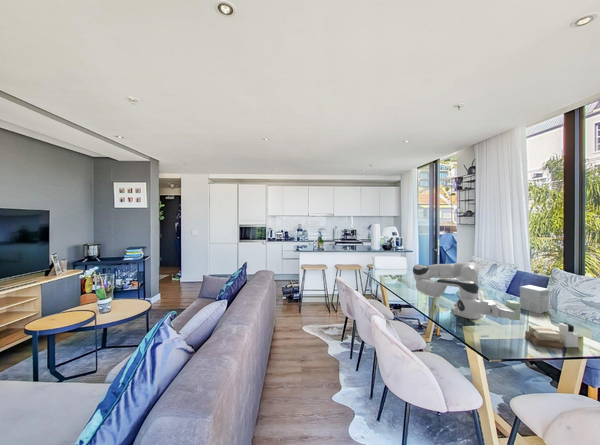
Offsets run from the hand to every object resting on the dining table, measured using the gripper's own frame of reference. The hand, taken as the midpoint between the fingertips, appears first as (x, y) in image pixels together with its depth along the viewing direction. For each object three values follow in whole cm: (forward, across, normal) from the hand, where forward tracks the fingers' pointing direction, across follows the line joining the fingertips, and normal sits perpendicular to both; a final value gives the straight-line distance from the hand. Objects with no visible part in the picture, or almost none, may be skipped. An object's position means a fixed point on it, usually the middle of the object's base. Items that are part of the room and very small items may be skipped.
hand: (514, 309), depth 158 cm
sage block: (-1, 0, -6) cm, 6 cm away
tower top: (+15, 0, -15) cm, 21 cm away
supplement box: (+44, -60, -19) cm, 77 cm away
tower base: (+15, 0, -19) cm, 25 cm away
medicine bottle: (+27, -1, -19) cm, 33 cm away
